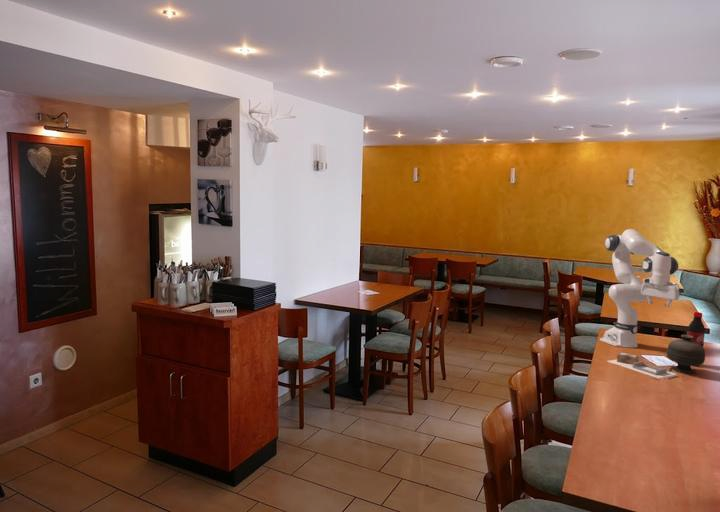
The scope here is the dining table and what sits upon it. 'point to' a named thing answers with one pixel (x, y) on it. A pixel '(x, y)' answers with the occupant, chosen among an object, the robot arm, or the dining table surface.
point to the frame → (627, 358)
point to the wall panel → (647, 369)
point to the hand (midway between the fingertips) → (658, 305)
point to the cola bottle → (697, 329)
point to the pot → (685, 354)
